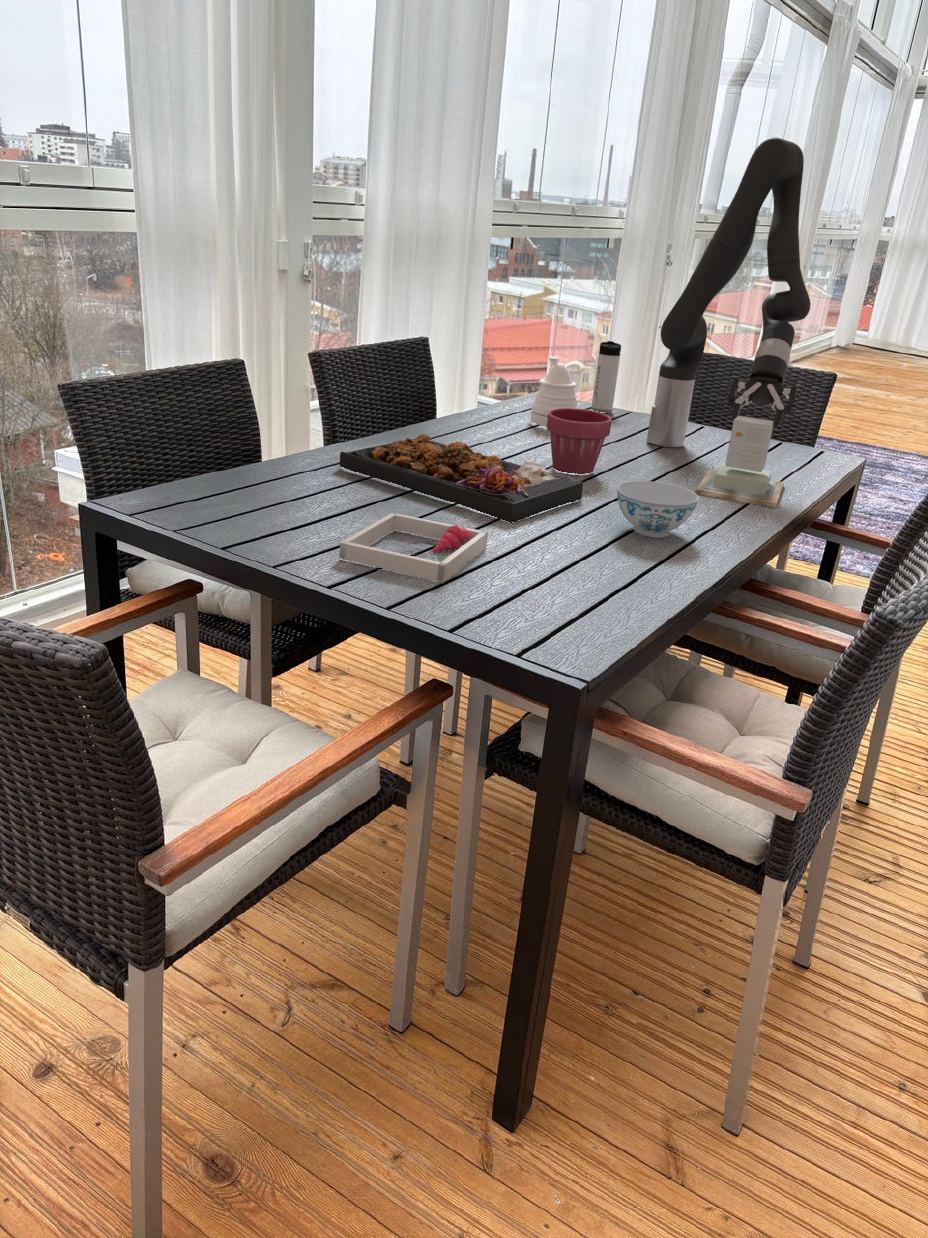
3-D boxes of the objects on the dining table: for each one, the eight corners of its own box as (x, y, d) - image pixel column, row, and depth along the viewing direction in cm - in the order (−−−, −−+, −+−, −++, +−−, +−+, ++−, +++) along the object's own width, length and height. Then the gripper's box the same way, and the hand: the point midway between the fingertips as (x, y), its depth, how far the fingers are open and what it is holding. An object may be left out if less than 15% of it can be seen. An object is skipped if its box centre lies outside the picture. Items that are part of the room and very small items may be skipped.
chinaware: (674, 551, 170) (682, 509, 166) (598, 531, 176) (604, 491, 173) (702, 531, 181) (709, 492, 178) (629, 514, 188) (635, 476, 185)
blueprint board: (695, 493, 206) (696, 488, 206) (708, 473, 224) (709, 468, 223) (775, 507, 201) (776, 502, 201) (783, 486, 218) (784, 481, 218)
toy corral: (339, 560, 152) (339, 542, 150) (391, 528, 168) (392, 512, 167) (442, 583, 146) (444, 565, 145) (486, 548, 162) (487, 532, 161)
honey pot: (527, 427, 254) (535, 358, 247) (532, 418, 266) (539, 352, 259) (575, 433, 253) (584, 364, 246) (577, 423, 265) (586, 357, 257)
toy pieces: (424, 537, 166) (425, 513, 164) (479, 552, 161) (482, 528, 160) (385, 555, 156) (386, 529, 155) (443, 571, 152) (445, 545, 150)
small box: (765, 467, 211) (775, 420, 207) (761, 473, 207) (771, 425, 202) (728, 461, 214) (738, 414, 210) (724, 466, 210) (733, 418, 205)
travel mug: (611, 410, 286) (621, 341, 278) (612, 414, 280) (622, 344, 272) (590, 408, 287) (599, 339, 279) (591, 412, 281) (600, 342, 273)
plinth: (712, 487, 209) (715, 474, 207) (720, 475, 219) (722, 462, 218) (763, 496, 205) (766, 482, 204) (769, 483, 215) (771, 470, 214)
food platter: (580, 503, 195) (587, 453, 191) (511, 526, 177) (516, 472, 173) (415, 455, 219) (418, 411, 215) (339, 472, 201) (340, 423, 197)
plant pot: (574, 482, 207) (581, 423, 202) (528, 466, 216) (535, 410, 211) (616, 474, 216) (625, 418, 211) (571, 460, 225) (578, 405, 220)
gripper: (739, 349, 213) (722, 409, 207) (805, 357, 208) (789, 419, 203) (737, 370, 219) (721, 428, 214) (801, 379, 215) (786, 438, 210)
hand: (754, 424), depth 209 cm, fingers closed on small box, 8 cm apart
